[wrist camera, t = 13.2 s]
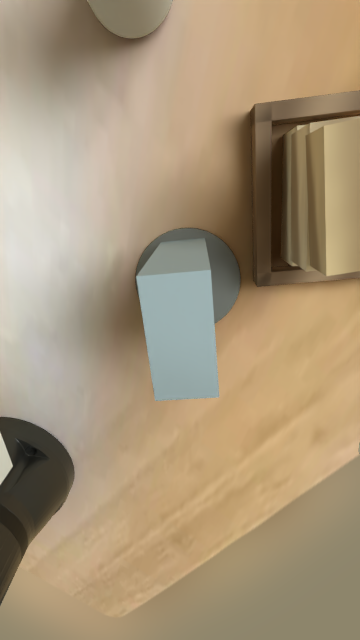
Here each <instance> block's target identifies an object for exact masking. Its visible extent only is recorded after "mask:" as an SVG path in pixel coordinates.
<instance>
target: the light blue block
mask: <svg viewBox="0 0 360 640" xmlns="http://www.w3.org/2000/svg"><path fill="white" fill-rule="evenodd" d="M136 278H137V285H138V291H139V298H140V304H141V311H142V317H143V324H144V330H145V337H146V344H147V350H148V357H149V363H150V370H151V376H152V383H153V389H154V396H155V401H162V400H180V399H197V398H215V397H219V386H218V371H217V356H216V340H215V325H214V310H213V295H212V280H211V268H210V263H209V258H208V252H207V247H206V242H205V238H199V239H189V240H178V241H168V242H161V243H160V244H159V246H158V247H157V248H156V250H155V251H154V253H153V254H152V255H151V257H150V258H149V260H148V261H147V262H146V264H145V265H144V266H143V268H142V269H141V271H140V272H139V273H138V275H137V276H136Z"/></svg>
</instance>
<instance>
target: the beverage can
mask: <svg viewBox="0 0 360 640" xmlns="http://www.w3.org/2000/svg"><path fill="white" fill-rule="evenodd" d="M87 1H88V3H89V5H90V7H91V9H92V10H93V12H94V14H95V15H96V17H97V18H98V20H99V21H100V22H101V23H102V25H103V26H104V27H105V28H107V29H108V30H109V31H110V32H112V33H114V34H116V35H118V36H120V37H124V38H140V37H143V36H146V35H148V34H150V33H151V32H153V31H154V30H155V29H156V28H157V27H158V26H159V25H160V24H161V23H162V22H163V20H164V19H165V17H166V16H167V14H168V12H169V10H170V7H171V4H172V1H173V0H87Z"/></svg>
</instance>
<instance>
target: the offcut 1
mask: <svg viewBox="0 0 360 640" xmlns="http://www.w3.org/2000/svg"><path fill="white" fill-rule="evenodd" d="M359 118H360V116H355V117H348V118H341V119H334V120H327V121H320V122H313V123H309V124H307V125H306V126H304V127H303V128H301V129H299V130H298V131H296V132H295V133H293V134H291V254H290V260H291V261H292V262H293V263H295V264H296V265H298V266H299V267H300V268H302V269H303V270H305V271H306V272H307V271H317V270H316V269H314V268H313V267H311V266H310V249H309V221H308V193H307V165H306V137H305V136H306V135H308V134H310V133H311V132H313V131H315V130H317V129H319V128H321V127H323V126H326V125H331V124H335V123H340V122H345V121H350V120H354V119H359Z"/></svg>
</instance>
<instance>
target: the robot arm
mask: <svg viewBox="0 0 360 640" xmlns="http://www.w3.org/2000/svg"><path fill="white" fill-rule="evenodd" d="M358 452H359V453H360V444H359V451H358ZM73 481H74V466H73V463H72V460H71V457H70V455H69V454H68V452H67V450H66V449H65V448H64V446H63V445H62V444H61V443H60V442H59V441H58V440H57V439H56V438H55V437H54V436H52V435H51V434H50V433H48V432H47V431H45V430H44V429H42V428H40V427H38V426H36V425H34V424H31V423H29V422H26V421H23V420H19V419H14V418H3V417H0V605H1V603H2V601H3V599H4V596H5V595H6V592H7V590H8V588H9V586H10V584H11V581H12V579H13V577H14V575H15V573H16V571H17V569H18V566H19V564H20V562H21V560H22V558H23V556H24V554H25V552H26V549H27V547H28V545H29V544H30V543H31V541H32V540H33V539H34V538H35V537H36V535H37V534H38V533H39V532H40V531H41V530H42V528H43V527H44V526H45V525H46V524H47V522H48V521H49V520H50V519H51V517H52V516H53V515H54V514H55V513H56V512H57V511H58V510H59V509H60V508H61V507H62V505H63V504H64V502H65V500H66V498H67V496H68V494H69V491H70V489H71V487H72V484H73Z"/></svg>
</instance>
